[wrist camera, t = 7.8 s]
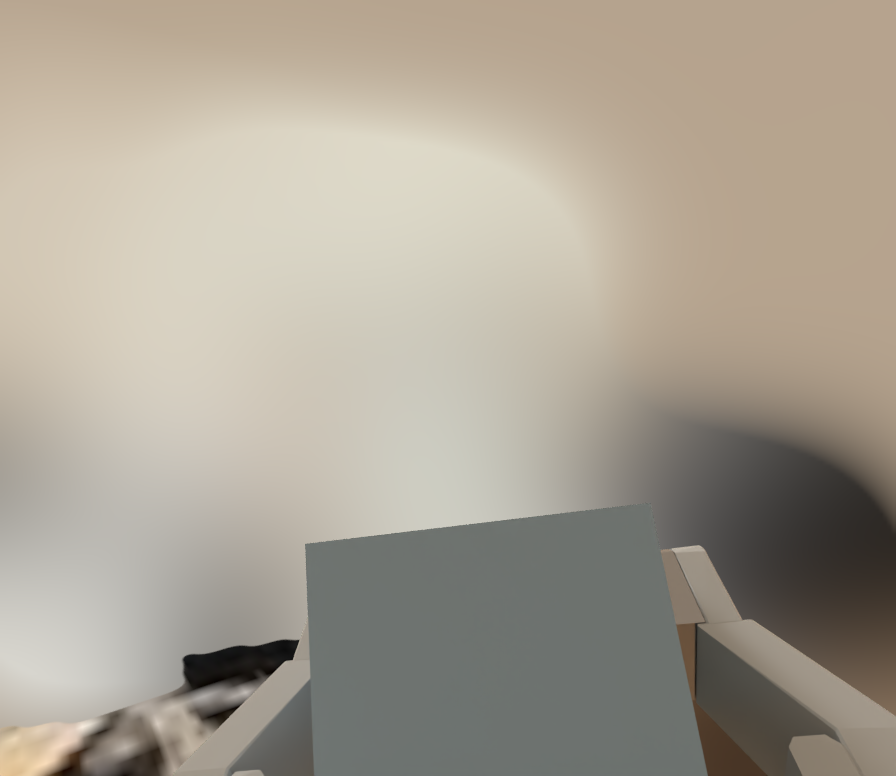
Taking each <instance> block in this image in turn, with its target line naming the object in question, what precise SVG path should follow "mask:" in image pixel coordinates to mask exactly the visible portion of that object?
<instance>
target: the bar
mask: <svg viewBox="0 0 896 776" xmlns="http://www.w3.org/2000/svg"><path fill="white" fill-rule="evenodd" d="M305 549H306V574H307V601H308V628H309V655H310V681H311V708H312V735H313V761H314V776H708V774H707V769H706V764H705V760H704V755H703V750H702V745H701V741H700V736H699V731H698V726H697V722H696V717H695V712H694V707H693V703H692V698H691V693H690V688H689V684H688V679H687V674H686V669H685V665H684V660H683V655H682V650H681V646H680V641H679V636H678V631H677V627H676V622H675V617H674V612H673V608H672V603H671V598H670V593H669V589H668V584H667V579H666V574H665V570H664V565H663V560H662V555H661V551H660V546H659V541H658V536H657V532H656V527H655V522H654V517H653V513H652V508H651V504H650V503H646V504H638V505H629V506H620V507H612V508H603V509H595V510H586V511H579V512H570V513H561V514H553V515H545V516H537V517H528V518H519V519H511V520H503V521H494V522H486V523H477V524H469V525H460V526H452V527H444V528H435V529H427V530H418V531H410V532H402V533H394V534H385V535H377V536H368V537H360V538H351V539H343V540H335V541H326V542H318V543H310V544H305Z"/></svg>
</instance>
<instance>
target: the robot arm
mask: <svg viewBox="0 0 896 776" xmlns="http://www.w3.org/2000/svg"><path fill="white" fill-rule="evenodd" d="M660 551H661V555H662V560H663V565H664V570H665V574H666V579H667V584H668V589H669V593H670V598H671V603H672V608H673V612H674V617H675V622H676V627H677V631H678V636H679V641H680V646H681V650H682V655H683V660H684V665H685V669H686V674H687V679H688V684H689V688H690V693H691V698H692V700H696V703H697V704H698V705H699V706H700V707H701V708H702V709H703V710H704V711H705V712H706V713H707V714H708V715H709V716H710V717H711V718H712V719H713V720H714V721H715V722H716V723H717V724H718V725H719V726H720V727H721V728H722V730H723V731H724V732H725V733H726V734H727V735H728V736H729V737H730V738H731V739H732V740H733V741H734V742H735V743H736V744H737V745H738V746H739V747H740V748H741V749H742V750H743V751H744V752H745V753H746V754H747V755H748V756H749V757H750V758H751V759H752V760H753V761H754V762H755V763H756V764H757V765H758V766H759V767H760V768H761V769H762V770H763V771H764V772H765V773H766V774H767V775H768V776H896V716H894V715H893V714H892V713H890V712H889V711H887V710H885V709H884V708H883V707H881V706H880V705H878V704H877V703H875V702H874V701H872V700H871V699H869V698H868V697H866V696H865V695H863V694H862V693H860V692H859V691H857V690H856V689H854V688H853V687H851V686H850V685H848V684H847V683H846V682H844V681H843V680H841V679H840V678H838V677H837V676H835V675H834V674H832V673H831V672H829V671H828V670H826V669H825V668H823V667H822V666H820V665H819V664H817V663H816V662H814V661H813V660H811V659H810V658H808V657H807V656H805V655H804V654H802V653H801V652H799V651H798V650H796V649H795V648H793V647H792V646H790V645H789V644H787V643H786V642H784V641H783V640H782V639H780V638H779V637H777V636H775V635H774V634H773V633H771V632H770V631H768V630H766V629H765V628H764V627H762V626H761V625H759V624H758V623H756V622H755V621H753V620H742V618H741V617H740V615H739V613H738V611H737V609H736V607H735V605H734V604H733V602H732V600H731V598H730V596H729V594H728V592H727V591H726V589H725V587H724V585H723V583H722V581H721V579H720V578H719V576H718V574H717V572H716V570H715V568H714V566H713V565H712V563H711V561H710V559H709V557H708V555H707V553H706V551H705V550H704V549H703V548H702V547H701V546H700V545H698V546H690V547H682V548H673V549H671V550H669V549H665V550H660ZM173 776H314V761H313V735H312V708H311V681H310V655H309V628H308V618H307V621H306V624H305V627H304V630H303V633H302V635H301V638H300V641H299V644H298V647H297V650H296V653H295V656H294V658H293V660H292V661H285V662H284V663H283V664H282V665H281V666H280V667H279V668H278V669H277V670H276V671H275V672H274V673H273V674H272V675H271V676H270V677H269V678H268V679H267V680H266V681H265V682H264V683H263V684H262V685H261V686H260V687H259V688H258V689H257V690H256V691H255V692H254V693H253V694H252V695H251V696H250V697H249V698H248V699H247V700H246V701H245V702H244V703H243V704H242V705H241V706H240V707H239V708H238V709H237V710H236V711H235V712H234V713H233V714H232V715H231V716H230V717H229V718H228V719H227V720H226V721H225V722H224V723H223V724H222V725H221V726H220V727H219V728H218V729H217V730H216V731H215V732H214V733H213V734H212V735H211V736H210V737H209V738H208V739H207V740H206V741H205V742H204V743H203V744H202V745H201V746H200V747H199V748H198V749H197V750H196V751H195V752H194V753H193V754H192V755H191V756H190V757H189V758H188V759H187V760H186V761H185V762H184V763H183V764H182V765H181V766H180V767H179V768H178V769H177V770H176V771H175V772H174V774H173Z"/></svg>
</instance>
